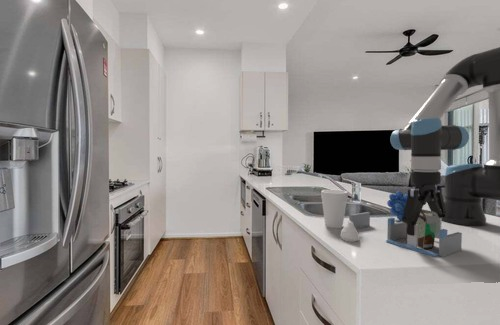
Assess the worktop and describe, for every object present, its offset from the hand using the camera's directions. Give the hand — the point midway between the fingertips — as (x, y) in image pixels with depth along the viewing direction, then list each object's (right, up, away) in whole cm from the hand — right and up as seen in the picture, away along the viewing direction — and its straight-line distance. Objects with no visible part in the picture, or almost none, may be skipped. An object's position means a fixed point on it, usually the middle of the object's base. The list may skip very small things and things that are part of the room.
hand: (424, 241), depth 84 cm
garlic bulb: (-21, -1, +4) cm, 22 cm away
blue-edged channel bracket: (-5, -1, +6) cm, 8 cm away
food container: (0, -1, 0) cm, 1 cm away
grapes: (+8, 0, +28) cm, 29 cm away
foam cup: (-21, 0, +21) cm, 30 cm away
